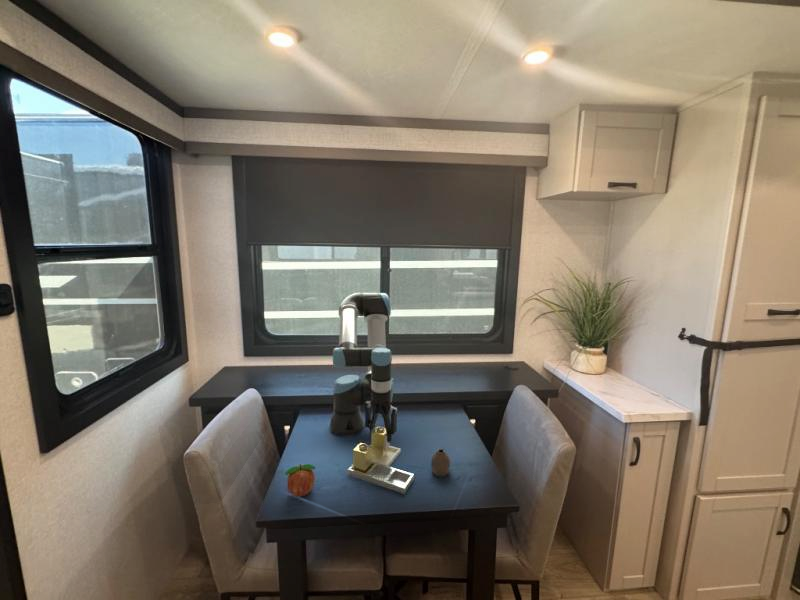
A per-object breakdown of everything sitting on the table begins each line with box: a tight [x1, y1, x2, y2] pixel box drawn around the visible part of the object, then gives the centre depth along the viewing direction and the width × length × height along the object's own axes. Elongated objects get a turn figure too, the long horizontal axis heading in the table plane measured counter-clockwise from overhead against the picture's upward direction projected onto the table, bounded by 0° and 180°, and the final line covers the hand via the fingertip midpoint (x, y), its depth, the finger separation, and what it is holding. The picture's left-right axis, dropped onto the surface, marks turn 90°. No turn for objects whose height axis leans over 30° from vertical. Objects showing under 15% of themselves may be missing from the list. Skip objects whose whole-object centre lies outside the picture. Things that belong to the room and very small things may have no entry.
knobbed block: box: [372, 425, 389, 457], centre depth 132 cm, size 5×5×10 cm
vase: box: [430, 448, 451, 477], centre depth 123 cm, size 7×7×9 cm
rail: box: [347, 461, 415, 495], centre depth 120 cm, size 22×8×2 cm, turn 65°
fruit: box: [284, 464, 316, 498], centre depth 112 cm, size 9×10×10 cm
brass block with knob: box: [352, 442, 373, 473], centre depth 123 cm, size 5×5×10 cm
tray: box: [369, 444, 402, 467], centre depth 133 cm, size 12×12×2 cm
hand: (380, 446), depth 132 cm, fingers closed on knobbed block, 5 cm apart
